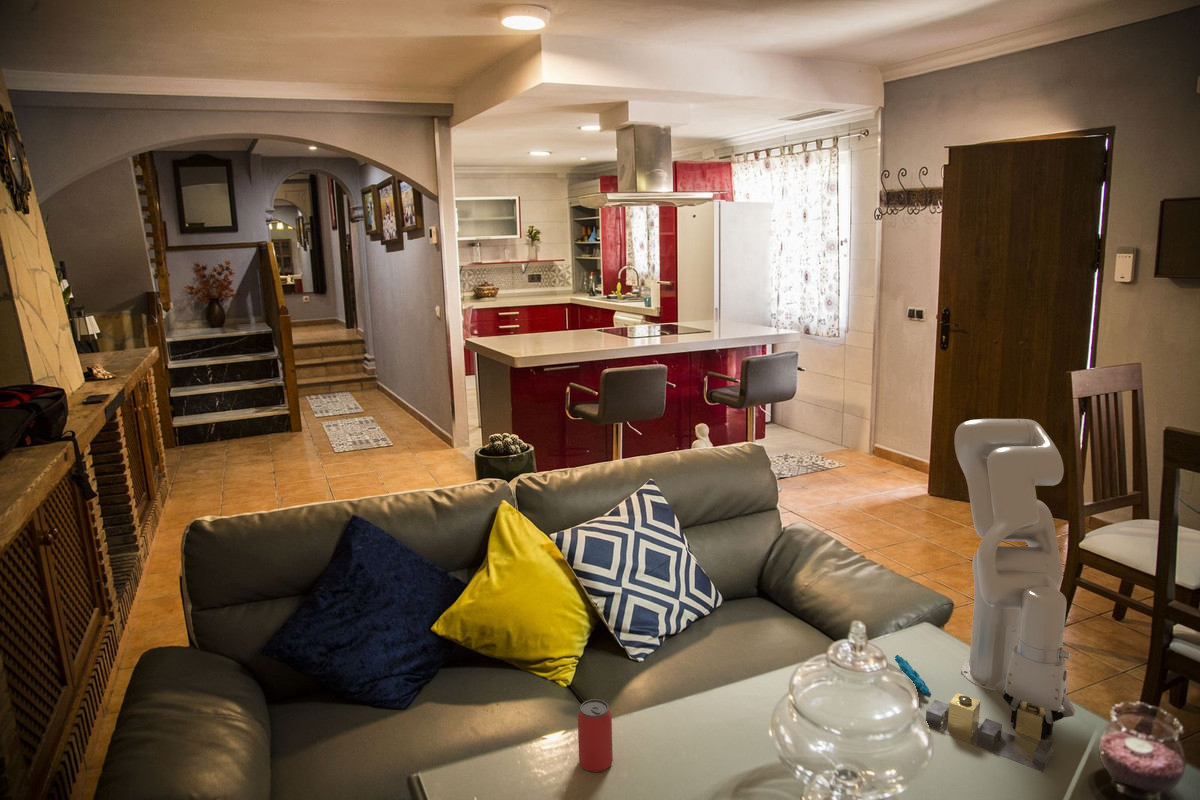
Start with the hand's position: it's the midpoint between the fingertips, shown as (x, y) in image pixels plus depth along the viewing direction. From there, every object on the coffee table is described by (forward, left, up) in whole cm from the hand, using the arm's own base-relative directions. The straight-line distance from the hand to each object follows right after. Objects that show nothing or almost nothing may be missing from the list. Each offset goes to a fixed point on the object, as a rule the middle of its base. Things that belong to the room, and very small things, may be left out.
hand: (1030, 730), depth 157 cm
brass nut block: (0, 0, -1) cm, 1 cm away
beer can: (+63, -61, -1) cm, 88 cm away
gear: (-1, -24, -1) cm, 24 cm away
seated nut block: (+8, -10, 0) cm, 13 cm away
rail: (+8, -6, -1) cm, 10 cm away
